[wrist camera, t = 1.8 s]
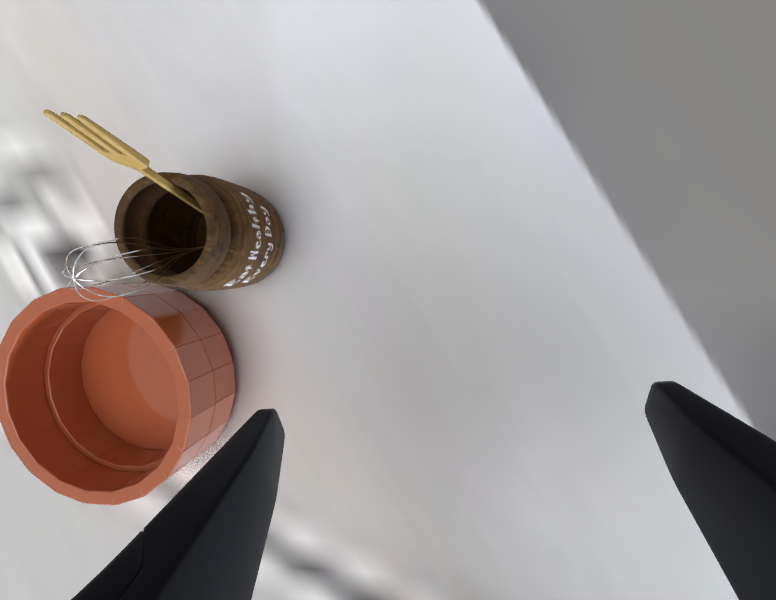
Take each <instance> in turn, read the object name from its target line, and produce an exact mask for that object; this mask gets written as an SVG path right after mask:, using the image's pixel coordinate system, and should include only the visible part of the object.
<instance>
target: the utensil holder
mask: <svg viewBox="0 0 776 600" xmlns="http://www.w3.org/2000/svg"><path fill="white" fill-rule="evenodd" d="M44 115H46V116H47V117H48V118H50V119H51V120H53V121H54V122H56V123H57V124H59V125H60V126H62V127H63V128H65V129H66V130H67V131H69V132H70V133H72V134H73V135H75V136H76V137H78V138H79V139H81V140H82V141H83V142H85V143H86V144H88V145H89V146H91V147H92V148H94V149H95V150H97V151H98V152H100V153H101V154H102V155H104V156H105V157H107V158H109V159H110V160H112V161H114V162H116V163H119V164H122V165H125V166H128V167H131V168H133V169H135V170H137V171H139V172H140V173H142V174H143V175H145V177H142V178H141V179H139V180H137V181H136V182H135V183H133V184H132V185H131V186H130V187H129V188H128V189H127V190H126V192H125V193H124V195H123V196H122V198H121V200H120V202H119V204H118V207H117V210H116V215H115V222H114V230H115V238H116V239H112V240H107V241H102V242H98V243H95V244H92V245H89V246H84V247H80V248H77V249H74V250H73V251H71V252H70V253H69V254H68V256H67V257H66V261H65V264H66V268H67V269H65V270H64V271H63V272H62V275H63V276H65V277H67V278H71V279H72V280H71V281H70V282H69V284H68V288H69V289H71V290H76V291H77V293H78V294H79V295H80V296H81V297H83V298H84V299H87V298H85V297H84V296H82V295H81V294H80V293H79V291H78V290H79V289H85V290H87V291H88V292H90V293H93V294H95V295H99V296H103V297H109V298H105V299H101V300H91V299H87V300H90V301H102V300H106V299H110V298H113V297H119V296H123V295H127V294H130V293H134V292H137V291H140V290H143V289H145V288H148V287H150V286H151V285H153V284H154V283H155V284H159V285H163V286H170V287H183V288H186V289H191V290H198V291H212V290H223V289H231V288H238V287H244V286H248V285H251V284H254V283H256V282H259V281H260V280H262V279H264V278H265V277H266V276H268V275H269V274H270V273H271V272H272V271H273V269H274V268H275V267H276V265H277V264H278V262H279V260H280V258H281V255H282V252H283V247H284V231H283V227H282V223H281V220H280V218H279V216H278V214H277V212H276V211H275V209H274V208H273V207H272V206H271V204H270V203H269V202H268V201H267V200H265V199H264V198H263V197H261V196H260V195H258V194H257V193H255V192H253V191H251V190H249V189H246V188H244V187H241V186H238V185H236V184H233V183H230V182H227V181H224V180H221V179H218V178H215V177H210V176H205V175H185V174H181V173H166V172H161V173H156V172H155V171H153V170H152V169H151V168H149V167H148V166H149V162H150V161H149V160H148V159H147V158H146V157H145V156H143V155H142V154H140V153H139V152H137V151H136V150H134V149H133V148H131V147H130V146H129V145H127V144H126V143H124V142H123V141H121V140H120V139H118V138H117V137H115V136H114V135H112V134H111V133H109V132H108V131H106V130H105V129H103V128H102V127H101V126H99V125H98V124H96V123H95V122H93V121H92V120H90V119H89V118H87V117H85V116H83V115H78V117H77V118H78V120H77V119H76V118H74V117H73V116H71V115H70V114H67V113H64V112H61V114H60V116H61V117H60V116H59V115H57V114H55V113H54V112H52V111H50V110H44ZM113 240H116V242H108V241H113ZM103 242H106V243H103ZM107 243H117V246H118V249H119V251H120V253H121V254H119V255H115V256H111V257H109V258H106V259H103V260H100V261H95V262H90V263H86V264H82V265H87V264H91V263H94V264H92V265H91V266H89V267H87V268H85V269H84V270H82V271H81V272H80V273H78V274H77V275H76V276H75V277H74V270H75V267H78V266H82V265H77V266H75V265H76V263H77V261H78V259H79V257H80V256H81V254H82V253H83V252H84V251H85V250H87V249H88V248H89V247H91V246H95V245H100V244H107ZM85 247H87V248H86V249H84V250H83V251H82V252H81V253H80V255H79V256H78V257H77V259H76V261H75V264H74V266H73V267H70V268H68V266H67V259H68V257H69V255H70V254H71V253H72V252H74V251H75V250H78V249H81V248H85ZM120 255H122V257H120V258H123V259H124V261H125V262H126V263H127V265H128V266H129V267H130V268H131V269H132V270H133V271H134V272H132V273H136V275H132V276H128V277H125V276H127V275H130V274H132V273H130V274H127V275H124V276H122V277H124V278H122V277H119V278H116V279H109V280H84V279H77V278H76V277H77V276H78V275H79V274H81V273H82V272H83V271H85V270H86V269H88V268H90V267H92V266H93V265H95V264H98V263H100V262H102V261H106V260H113V259H120V258H113V257H116V256H120ZM110 258H112V259H110ZM71 268H73V276H72V275H71V273H70V271H69V269H71ZM66 270H67V271H68V273H69V274H70V276H71V277H68V276H66V275H64V274H63V273H64V272H65V271H66ZM137 275H139V276H140V277H142V278H143V279H145V280H146V281H145V282H144V283H146V282H147V281H149V282H152V284H151V285H149V286H147V287H145V288H143V289H140V290H137V291H133V290H135V289H137V288H138V287H140V286H141V285H143V284H144V283H142V284H141V285H139V286H138V287H136V288H134V289H132V290H130V291H128V292H130V293H128V292H126V293H123V294H120V295H116V296H105V295H100V294H96V293H94V292H91V291H89V290H88V289H86V288H88V287H92V286H96V285H100V284H103V283H107V282H110V281H113V280H120V279H125V278H129V277H133V276H137ZM76 280H81V281H106V282H103V283H99V284H95V285H91V286H87V287H83V286H82V285H80V284H79V283H78V282H77V281H76ZM72 281H73V283H74V287H75V289H72V288H70V287H69V285H70V283H71V282H72ZM75 282H76V283H77V284H78V285H80V286H81V287H82V288H78V289H77V288H76V285H75ZM131 291H133V292H131Z"/></svg>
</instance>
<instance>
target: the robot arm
mask: <svg viewBox="0 0 776 600" xmlns="http://www.w3.org/2000/svg"><path fill="white" fill-rule="evenodd" d="M645 414H646V417H647V420H648V422H649V425H650V427H651V429H652V432H653V434H654V436H655V439H656V441H657V444H658V446H659V448H660V451H661V453H662V455H663V458H664V460H665V463H666V465H667V467H668V470H669V472H670V474H671V476H672V478H673V480H674V482H675V484H676V486H677V488H678V490H679V492H680V494H681V495H682V497H683V499H684V501H685V503H686V504H687V506H688V508H689V510H690V512H691V513H692V515H693V517H694V519H695V521H696V523H697V524H698V526H699V528H700V530H701V532H702V533H703V535H704V537H705V539H706V541H707V542H708V544H709V546H710V548H711V550H712V552H713V553H714V555H715V557H716V559H717V561H718V562H719V564H720V566H721V568H722V570H723V571H724V573H725V575H726V577H727V579H728V580H729V582H730V584H731V586H732V588H733V590H734V591H735V593H736V595H737V597H738V599H739V600H776V441H774V440H772V439H771V438H769V437H767V436H766V435H764V434H762V433H761V432H759V431H757V430H756V429H754V428H752V427H751V426H749V425H747V424H745V423H744V422H742V421H740V420H739V419H737V418H735V417H734V416H732V415H730V414H729V413H727V412H725V411H724V410H722V409H720V408H719V407H717V406H715V405H713V404H712V403H710V402H708V401H707V400H705V399H703V398H702V397H700V396H698V395H697V394H695V393H693V392H692V391H690V390H688V389H686V388H685V387H683V386H681V385H680V384H678V383H676V382H673V381H664V382H655V383H653V384H652V386H651V389H650V392H649V395H648V398H647V402H646V405H645ZM284 439H285V434H284V429H283V426H282V424H281V421H280V419H279V416H278V414H277V412H276V410H275V409H261V410H258V411H257V412H255V414H254V415H253V416H252V417H251V418H250V419H249V420H248V421H247V422H246V423H245V424H244V425H243V426H242V427H241V428H240V429H239V430H238V431H237V432H236V433H235V434H234V435H233V436H232V437H231V438H230V439H229V441H228V442H227V443H226V444H225V445H224V446H223V447H222V448H221V449H220V450H219V451H218V452H217V453H216V454H215V455H214V456H213V457H212V458H211V459H210V460H209V461H208V462H207V463H206V464H205V465H204V466H203V468H202V469H201V470H200V471H199V472H198V473H197V474H196V475H195V476H194V477H193V478H192V479H191V480H190V481H189V482H188V483H187V484H186V485H185V486H184V487H183V488H182V489H181V490H180V491H179V492H178V493H177V495H176V496H175V497H174V498H173V499H172V500H171V501H170V502H169V503H168V504H167V505H166V506H165V507H164V508H163V509H162V510H161V511H160V512H159V513H158V514H157V515H156V516H155V517H154V518H153V519H152V520H151V522H150V523H149V524H148V525H147V526H146V527H145V528H144V532H143V531H141V532H140V533H139V534H138V535H137V536H136V537H135V538H134V539H133V540H132V541H131V542H130V543H129V544H128V545H127V546H126V547H125V548H124V549H123V550H122V551H121V552H120V553H119V554H118V555H117V556H116V557H115V558H114V559H113V560H112V561H111V562H110V563H109V564H108V565H107V566H106V567H105V568H104V569H103V570H102V571H101V572H100V573H99V574H98V575H97V576H96V577H95V578H94V579H93V580H92V581H91V582H90V583H89V584H87V585H86V586H85V587H84V588H83V589H82V590H81V591H80V592H79V593H78V594H77V595H76V596H75V597H74V598H72V599H71V600H251V598H252V594H253V590H254V586H255V582H256V578H257V574H258V570H259V566H260V562H261V558H262V554H263V550H264V546H265V542H266V538H267V534H268V530H269V526H270V522H271V518H272V514H273V510H274V506H275V501H276V496H277V490H278V483H279V476H280V468H281V461H282V454H283V447H284Z"/></svg>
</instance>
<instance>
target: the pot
mask: <svg viewBox="0 0 776 600" xmlns="http://www.w3.org/2000/svg"><path fill="white" fill-rule="evenodd" d="M141 284H142V283H130V284H113V285H99V286H92V287H88V288H86V289H88V290H89V291H91V292H94V293H96V294H100V295H105V296H116V295H120V294H123V293H126V292H128V291H130V290H132V289H134V288H136V287H138V286H139V285H141ZM151 284H152V283H144V284H143V285H141V286H140V287H138V288H137V289H135V290H133V291H137V290H140V289H143V288H145V287H147V286H149V285H151ZM83 287H87V286H83ZM70 288H72V289H75V287H70ZM76 288H77V289H78V288H82V287H76ZM78 291H79V293H80V294H81V295H82V296H84V297H85V298H87V299H91V300H101V299H105V298H109V297H103V296H99V295H95V294H93V293H90V292H88V291H87V290H85V289H79V290H78ZM133 291H131V292H133ZM128 293H130V292H128ZM87 299H84V298H83V297H81V296H80V295H79V294H78V293H77V291H76V290H71V289H69V288H68V287H67V288H60V289H58V290H55V291H53V292H51V293H48V294H46V295H44V296H41V297H39V298H37V299H34V301H32V302H31V303H30V304H29V305H28V306H27V307H26V308H25V309H24V310H23V311H22V312H21V313H20V314H19V315H18V316H17V317H16V318H15V319H14V320H12V322H11V324H10V326H9V328H8V330H7V332H6V334H5V336H4V338H3V340H2V342H1V344H0V422H1V424H2V427H3V429H4V432H5V434H6V437H7V439H8V442H9V444H10V446H11V448H12V449H13V450H14V452H15V453H16V454H17V456H18V457H19V458H20V460H21V461H22V462H23V464H24V465H25V466H26V468H27V469H28V470H29V472H31V473H32V474H33V475H34V476H36V477H37V478H38V479H40V480H41V481H42V482H43V483H45V484H46V485H47V486H49V487H50V488H51V489H52V490H54V491H55V492H57V493H59V494H62V495H64V496H67V497H69V498H72V499H74V500H77V501H79V502H82V503H86V504H103V505H118V504H121V503H125V502H128V501H131V500H134V499H138V498H141V497H144V496H146V495H147V494H148V493H150V492H151V491H152V490H154V489H155V488H156V487H158V486H159V485H160V484H161V483H163V482H164V481H165V480H167V479H168V478H169V477H171V476H172V475H173V474H175V473H176V472H177V471H178V470H180V469H181V468H182V467H184V466H185V465H186V464H188V463H189V462H190V461H191V460H193V459H194V458H195V457H197V456H198V455H199V454H200V453H202V452H203V451H204V450H206V449H207V448H208V447H209V446H211V445H212V444H213V443H214V442H215V441H216V439H217V438H218V436H219V435H220V433H221V431H222V430H223V428H224V427H225V425H226V423H227V422H228V420H229V417H230V413H231V409H232V405H233V400H234V396H235V371H234V365H233V359H232V356H231V352H230V349H229V346H228V344H227V342H226V339H225V337H224V336H223V334H222V331H221V330H220V329H219V327H218V326H217V324H216V323H215V322H214V320H213V319H212V318H211V317H210V316H209V315H208V313H207V312H206V311H205V309H203V308H202V307H201V306H200V305H198V304H197V303H195V302H194V301H193V300H191V299H190V298H188V297H187V296H186V295H184V294H183V293H181V292H179V291H178V290H174V289H171V288H168V287H165V286H162V285H158V284H155V283H154V284H153V285H151V286H150V287H148V288H145V289H143V290H140V291H137V292H134V293H130V294H127V295H123V296H119V297H113V298H110V299H106V300H102V301H90V300H87Z"/></svg>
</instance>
